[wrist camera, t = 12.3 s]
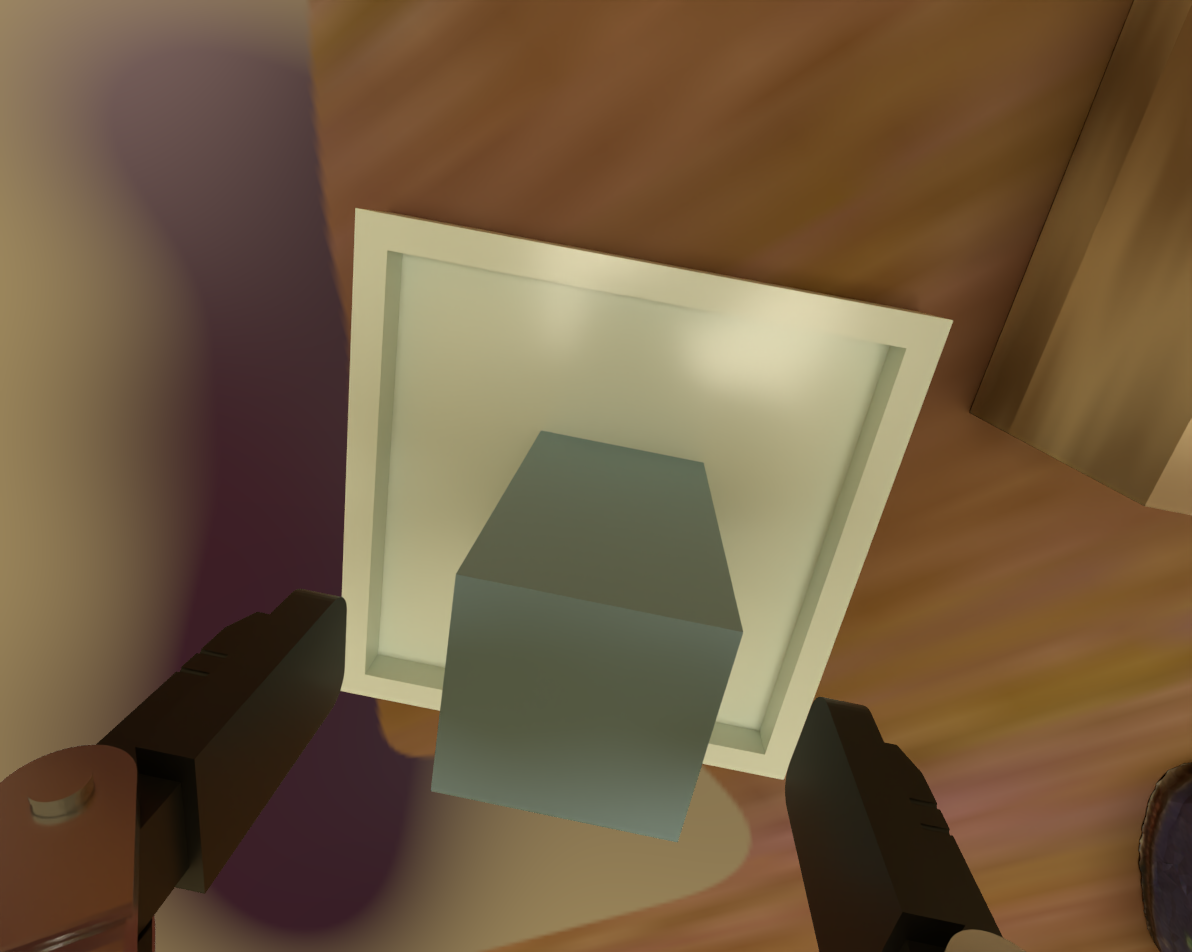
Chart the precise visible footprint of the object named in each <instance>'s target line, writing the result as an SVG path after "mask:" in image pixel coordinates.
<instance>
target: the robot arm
mask: <svg viewBox="0 0 1192 952" xmlns="http://www.w3.org/2000/svg"><path fill="white" fill-rule="evenodd" d="M346 622H347V604H346V601H345V599H344V598H343V597H338V596H333V595H328V594H323V593H319V592H314V591H309V590H304V589H297V590H295V591H294V592H293V593H291V594H290V595H289V596H288V597H287V598H286V599H285V600H284V601H283V602H282V603H281V604H280V605H279V606H278V607H277V608H276V609H275V610H274V611H273V612H272V613H271V614H265V613H260V612H256V613H254V614H252V615H250V616H248V617H246V618H244V619H242V620H240V621H237V622H235V623H233V624H231V625H229V626H227V627H225V628H224V629H223V630H222V631H221V632H220V633H218V634H217V635H216V636H215V637H214V638H213V639H212V640H211V641H210V642H209V643H207V644H206V645H205V646H204V647H203V648H202V650H201V652H200V654H198V653H197V654H195V655H194V656H193V657H192V658H191V659H190V660H189V661H188V662H186V663H185V664H184V665H183V666H182V667H181V671H180V672H175V673H174V674H173V675H172V676H171V677H170V678H169V679H168V680H167V681H166V682H164V683H163V684H162V685H161V686H160V687H159V688H158V689H157V690H156V691H155V692H153V693H152V694H151V695H150V696H149V697H148V698H147V699H146V700H145V701H144V702H142V704H140V705H139V706H138V707H137V708H136V709H135V710H134V711H133V712H131V713H130V714H129V715H128V716H127V717H126V718H125V719H124V720H123V721H121V722H120V723H119V724H118V725H117V726H116V727H115V728H114V729H113V730H112V731H110V732H109V733H108V734H107V735H106V736H105V737H104V738H103V739H102V740H100V741H99V742H98V743H97V744H96V745H81V746H76V747H70V748H66V749H62V750H59V751H55V752H53V753H50V754H47V755H44V756H42V757H40V758H38V759H36V760H33V761H31V762H29V763H28V764H26V765H24V766H22V767H21V768H19V769H17V770H16V771H15V772H13V773H12V774H10V775H9V776H8V777H6V778H5V779H4V780H3V781H2V782H1V783H0V952H155V943H156V941H155V940H156V936H155V935H156V931H155V930H156V929H155V927H156V924H155V915H154V914H155V913H156V912H157V910H158V909H159V908H160V906H161V905H162V904H163V902H164V901H165V900H166V898H167V897H168V896H169V894H170V893H171V891H172V890H173V889H174V887H177V888H181V889H186V890H191V891H195V892H200V893H206V891H207V890H208V888H209V887H210V886H211V884H212V883H213V881H214V879H215V878H216V877H217V875H218V874H219V872H220V871H221V869H222V868H223V867H224V865H225V864H226V862H227V861H228V859H229V858H230V856H231V855H232V854H233V852H234V851H235V849H236V848H237V846H238V845H239V843H240V842H241V840H242V839H243V838H244V836H245V835H246V833H247V831H248V830H249V829H250V827H251V826H252V824H253V823H254V821H255V820H256V818H257V817H258V816H259V814H260V813H261V811H262V810H263V808H264V807H265V806H266V804H267V803H268V801H269V800H270V798H271V797H272V795H273V794H274V792H275V791H276V790H277V788H278V787H279V785H280V783H281V782H282V781H283V779H284V778H285V776H286V775H287V773H288V772H289V770H290V769H291V768H292V766H293V764H294V763H295V762H296V760H297V759H298V757H299V755H301V753H302V752H303V750H304V749H305V747H306V746H307V744H308V743H309V741H310V740H311V739H312V737H313V736H314V734H315V733H316V731H317V730H318V728H319V727H320V725H321V724H322V723H323V721H324V720H325V718H326V717H327V715H328V714H329V712H330V711H331V709H332V708H333V706H334V704H335V702H336V700H337V698H338V695H339V693H340V690H341V687H342V683H343V679H344V672H345V649H346ZM785 797H786V806H787V811H788V815H789V819H790V824H791V828H792V833H793V837H794V842H795V846H796V850H797V855H798V859H799V864H800V868H801V873H802V877H803V881H804V886H805V890H806V895H807V899H808V904H809V908H810V912H811V917H812V921H813V926H814V930H815V935H816V939H817V943H818V948H819V952H1026V951H1024V950H1023V949H1021V948H1020V947H1018V946H1017V945H1015V944H1014V943H1012V942H1010V941H1008V940H1006V939H1004V938H1003V937H1002V935H1001V933H1000V931H999V929H998V927H997V925H996V923H995V920H994V918H993V916H992V914H991V912H990V910H989V908H988V906H987V904H986V902H985V900H984V898H983V896H982V894H981V892H980V890H979V888H978V886H977V884H976V882H975V880H974V878H973V876H972V874H971V872H970V870H969V868H968V866H967V864H966V861H965V859H964V857H963V855H962V853H961V851H960V849H959V847H958V845H957V843H956V841H955V839H954V837H953V836H951V835H950V834H949V830H950V829H949V827H948V825H947V823H946V821H945V819H944V817H943V815H942V813H941V811H940V810H939V809H937V802H936V800H935V798H934V796H933V794H932V792H931V790H930V788H929V786H928V784H927V782H926V780H925V778H924V776H923V774H922V773H921V772H920V770H919V769H918V768H917V767H916V766H915V765H914V764H913V763H912V762H911V760H910V759H909V758H908V757H907V756H906V755H905V754H904V753H903V752H902V750H901V749H900V748H899V747H898V746H897V745H894V744H889V743H884V741H883V739H882V737H881V734H880V732H879V730H878V728H877V725H876V723H875V721H874V719H873V717H872V714H871V712H870V710H869V709H868V708H867V707H866V706H863V705H858V704H853V703H849V702H844V701H839V700H834V699H829V698H824V697H818V698H816V699H815V700H814V702H813V704H812V706H811V708H810V711H809V713H808V716H807V719H806V721H805V724H804V726H803V729H802V732H801V734H800V737H799V739H798V742H797V745H796V747H795V750H794V753H793V755H792V758H791V760H790V763H789V766H788V770H787V775H786V785H785Z"/></svg>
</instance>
